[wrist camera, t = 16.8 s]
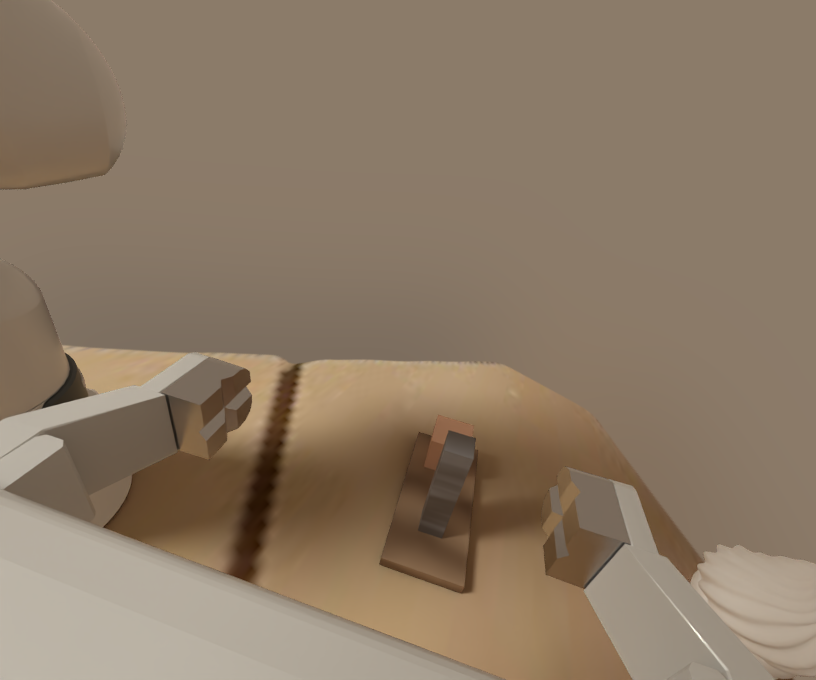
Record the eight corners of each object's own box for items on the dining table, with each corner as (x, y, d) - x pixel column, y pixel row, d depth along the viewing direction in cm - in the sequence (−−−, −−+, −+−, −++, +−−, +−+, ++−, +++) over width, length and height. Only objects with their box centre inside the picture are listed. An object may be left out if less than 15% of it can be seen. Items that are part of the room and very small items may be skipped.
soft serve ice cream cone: (663, 723, 29) (816, 639, 21) (614, 603, 36) (713, 504, 28) (759, 728, 30) (943, 650, 22) (692, 610, 37) (812, 516, 29)
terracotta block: (460, 478, 44) (470, 452, 42) (423, 466, 44) (431, 440, 42) (464, 450, 48) (473, 425, 45) (430, 440, 48) (438, 414, 46)
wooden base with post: (460, 593, 34) (505, 508, 28) (379, 564, 35) (402, 475, 28) (475, 456, 49) (507, 378, 42) (417, 438, 50) (438, 358, 43)
